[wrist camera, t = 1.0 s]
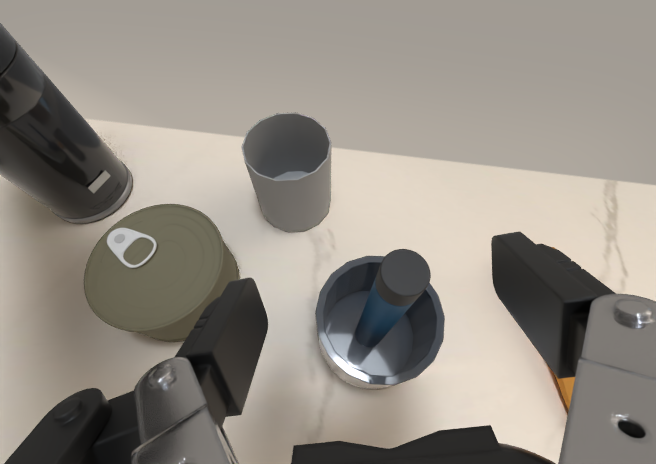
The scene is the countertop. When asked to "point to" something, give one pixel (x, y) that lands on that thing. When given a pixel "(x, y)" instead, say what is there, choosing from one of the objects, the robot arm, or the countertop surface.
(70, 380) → the countertop surface
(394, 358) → the pen pot
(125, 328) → the can
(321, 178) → the cup
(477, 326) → the countertop surface
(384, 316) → the marker
